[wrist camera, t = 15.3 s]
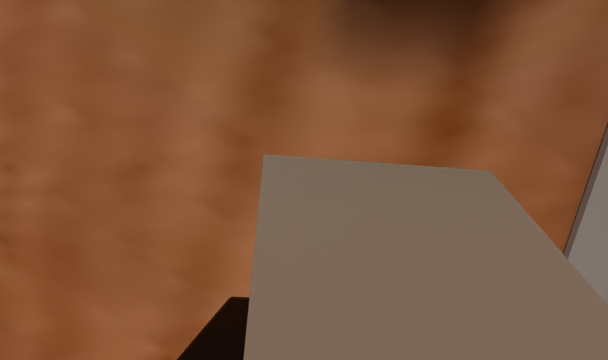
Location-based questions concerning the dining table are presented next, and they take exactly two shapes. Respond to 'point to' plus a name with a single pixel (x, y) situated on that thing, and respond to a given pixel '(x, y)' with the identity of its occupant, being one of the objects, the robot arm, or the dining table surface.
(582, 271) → the door frame
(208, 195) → the dining table surface
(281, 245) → the block
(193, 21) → the dining table surface
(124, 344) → the dining table surface
